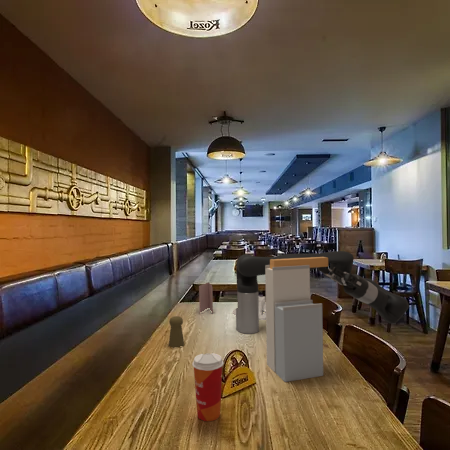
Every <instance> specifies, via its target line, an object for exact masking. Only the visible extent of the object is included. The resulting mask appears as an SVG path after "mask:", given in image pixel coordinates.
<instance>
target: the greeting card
mask: <svg viewBox="0 0 450 450" xmlns="http://www.w3.org/2000/svg"><path fill="white" fill-rule="evenodd" d="M198 291H199V292H198V298H199V301H198V302H199V313H200V312H202V311H204V310H205V309H207V308H210V310H211V311H212V313H213V314H214V306H213V304H214V303H213V299H214V298H213V285H212V284H211V283H210V282H207V283H203V284H201V285H199V286H198ZM210 310H209V311H210ZM212 313H211V314H212Z"/></svg>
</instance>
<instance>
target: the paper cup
mask: <svg viewBox="0 0 450 450" xmlns="http://www.w3.org/2000/svg"><path fill="white" fill-rule="evenodd" d="M223 366H224V361H223V358H222V356H221V355H220V354H217V353H214V352H211V353H207V352H206V353H205V354H204V353H200V354H197V355H196V356H194V358H193V361H192V367H193V373H194V374H193V375H194V388H195V390H194V392H195V402H196V404H195V405H196V413H197V414H196V415H197V418H198V419H199V420H200V419H201V421H202V420H203V422H213V421H216V420H218V419H219V417H220V416H221V408H222V405H221V404H222V403H221V402H222V381H223V380H222V379H223Z"/></svg>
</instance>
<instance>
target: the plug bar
mask: <svg viewBox="0 0 450 450" xmlns="http://www.w3.org/2000/svg"><path fill="white" fill-rule="evenodd" d="M302 265H310V268H313V267H317V268H318V267H327V268H328V267H329V264H328V258H327V257H311V258H290V259H270V269H272V267H285V266H302Z"/></svg>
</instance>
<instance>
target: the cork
mask: <svg viewBox="0 0 450 450" xmlns="http://www.w3.org/2000/svg"><path fill="white" fill-rule="evenodd" d="M183 323H184V320H183V317H181V316H177V315H176V316H172V317H170V318H169V325H170V331H169V340H168V341H169V342H168V347H169V346H171V347H180V346H183V345H184V346H185V340H184V332H183V327H182V325H183ZM184 346H183V347H184ZM171 347H170V348H171ZM180 348H181V347H180Z"/></svg>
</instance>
